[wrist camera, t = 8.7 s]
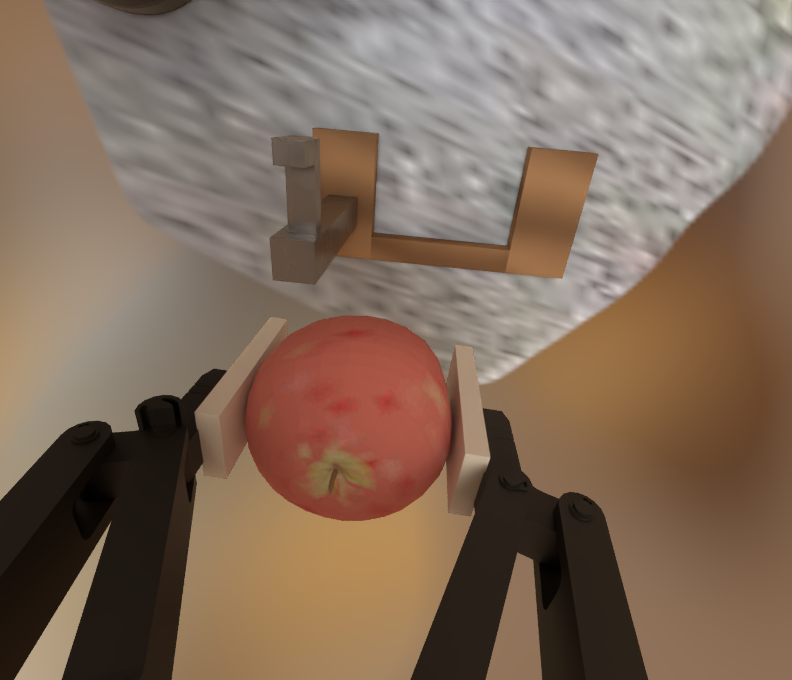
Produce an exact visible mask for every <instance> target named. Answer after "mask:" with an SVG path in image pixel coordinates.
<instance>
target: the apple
mask: <svg viewBox="0 0 792 680" xmlns="http://www.w3.org/2000/svg"><path fill="white" fill-rule="evenodd" d="M245 427H246V434H247V440H248V447H249V450H250V452H251V455H252V457H253V459H254V461H255V463H256V466H257V468H258V470H259V472H260V473H261V474H262V476H263V477H264V478H265V479H266V481H267V482H268V483H269V484H270V486H271V487H272V488H273V489H274V490H275V491H276V492H277V493H279V494H280V495H281V496H283V497H284V498H285V499H286V500H287V501H289V502H291V503H293V504H294V505H296V506H298V507H300V508H302V509H304V510H305V511H308V512H311V513H314V514H317V515H320V516H323V517H326V518H332V519H337V520H342V521H362V520H369V519H375V518H380V517H384V516H387V515H390V514H392V513H395V512H397V511H400V510H402V509H403V508H405V507H406V506H408V505H409V504H411V503H412V502H414V501H415V500H416V499H418V498H419V497H421V496H422V495H423V494H424V493H425V492H426V491H427V489H428V488H429V487H430V486H431V485H432V484H433V482H434V481H435V480H436V479H437V478H438V476H439V475H440V473H441V471H442V469H443V466H444V464H445V461H446V459H447V457H448V454H449V451H450V446H451V433H452V417H451V409H450V403H449V397H448V391H447V386H446V383H445V379H444V376H443V373H442V369H441V366H440V363H439V360H438V358H437V357H436V356H435V354H434V353H433V351H432V350H431V349H430V347H429V346H428V344H427V343H426V342H425V340H423V339H422V338H420V337H419V336H417V335H416V334H415V333H413V332H412V331H410V330H409V329H407V328H406V327H404V326H401V325H398V324H396V323H393V322H391V321H388V320H385V319H380V318H375V317H369V316H340V317H335V318H329V319H323V320H319V321H316V322H314V323H312V324H310V325H308V326H306V327H304V328H302V329H300V330H298V331H296V332H294V333H292V334H290V335H289V336H288V337H286V338H285V339H284V340H283V341H282V342H281V343H280V344H279V345H278V346H277V348H276V349H275V350H274V351H273V352H272V353H271V354H270V355H269V356H268V358H267V359H266V360H265V361H264V362H263V363H262V365H261V366H260V368H259V370H258V372H257V375H256V377H255V380H254V382H253V385H252V387H251V389H250V392H249V394H248V401H247V408H246V415H245Z"/></svg>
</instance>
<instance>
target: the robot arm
mask: <svg viewBox="0 0 792 680" xmlns="http://www.w3.org/2000/svg"><path fill="white" fill-rule="evenodd" d="M96 1H98V2H101V3H103V4H106V5H109V6H112V7H115V8H117V9H120V10H124V11H127V12H131V13H137V14H159V13H164V12H168V11H171V10H174V9H176V8H178V7H180V6H182V5H184V4H185V3H187V2H188V1H190V0H96ZM286 337H287V319H281V318H274V317H270V318H269V320H268V321H267V322H266V323H265V324H264V326H263V327H262V328H261V329H260V331H259V332H258V333H257V334H256V336H255V337H254V338H253V340H252V341H251V342H250V343H249V345H248V346H247V347H246V348H245V350H244V351H243V352H242V353H241V355H240V356H239V357H238V358H237V360H236V361H235V362H234V363H233V365H232V366H231V367H230V368H229V370H228V371H226V370H219V369H213V370H211V371H209V372H208V373H206V374H204V375H202V376H201V377H200V379H199V380H198V381H197V382H196V383H195V385H194V386H193V387H192V388H191V389H190V390H189V392H188V393H186V394H185V396H184V397H183V398H182V399H180V398H178V397H175V396H172V395H161V396H155V397H152V398H150V399H147V400H145V401H143V402H142V403H141V404H139V405H138V406H137V408H136V409H135V415H136V418H137V423H138V427H139V430H138V431H130V432H129V431H128V432H116V433H112V429H111V426H110V425H108V424H107V423H106V422H101V421H88V422H84V423H81V424H77V425H75V426H73V427H71V428H69V429H68V430H66V431H65V432H64V433H63V434H61V435H60V437H59V438H58V439H57V440H56V441H55V442H54V443H53V444H52V445H51V446H50V447H49V448H48V450H47V451H46V452H45V453H44V454H43V455H42V456H41V457H40V458H39V459H38V460H37V462H36V463H35V464H34V465H33V466H32V467H31V468H30V469H29V470H28V471H27V472H26V473H25V475H24V476H23V477H22V478H21V479H20V480H19V481H18V482H17V483H16V484H15V486H14V487H13V488H12V489H11V490H10V491H9V492H8V493H7V494H6V495H5V496H4V498H2V499H1V501H0V680H14V679H15V677H16V676H17V674H18V672H19V670H20V669H21V667H22V666H23V664H24V662H25V661H26V659H27V657H28V656H29V654H30V653H31V651H32V649H33V648H34V646H35V645H36V643H37V641H38V640H39V638H40V636H41V635H42V633H43V631H44V630H45V628H46V627H47V625H48V623H49V622H50V620H51V618H52V617H53V615H54V613H55V612H56V610H57V609H58V607H59V605H60V604H61V602H62V600H63V599H64V597H65V595H66V594H67V592H68V591H69V589H70V587H71V586H72V584H73V582H74V581H75V579H76V578H77V576H78V574H79V573H80V571H81V569H82V568H83V566H84V564H85V563H86V561H87V560H88V558H89V556H90V555H91V553H92V551H93V550H94V548H95V546H96V545H97V543H98V542H99V540H100V538H101V537H102V535H103V533H104V532H105V530H106V529H107V527H108V525H109V524H110V522H111V524H110V527H109V531H108V534H107V537H106V540H105V543H104V547H103V550H102V553H101V556H100V559H99V563H98V566H97V569H96V572H95V575H94V578H93V582H92V585H91V588H90V591H89V594H88V598H87V601H86V604H85V607H84V610H83V613H82V617H81V620H80V623H79V626H78V629H77V633H76V636H75V639H74V642H73V645H72V649H71V652H70V655H69V658H68V662H67V665H66V668H65V671H64V674H63V678H62V680H171V679H172V672H173V664H174V656H175V648H176V640H177V632H178V625H179V616H180V609H181V601H182V594H183V586H184V578H185V571H186V563H187V555H188V547H189V539H190V532H191V524H192V516H193V508H194V501H195V493H196V485H197V482H196V476H195V474H196V473H197V471H198V469H199V468H200V466H201V465H203V471H204V475H206V476H211V477H218V478H224V479H227V477H228V475H229V474H230V472H231V470H232V468H233V466H234V465H235V463H236V461H237V459H238V457H239V456H240V454H241V452H242V451H243V449H244V447H245V445H246V443H247V442H248V440H247V434H246V427H245V415H246V408H247V401H248V394H249V392H250V389H251V387H252V385H253V382H254V380H255V377H256V375H257V372H258V370H259V368H260V366H261V365H262V363H263V362H264V361H265V360H266V359H267V358H268V356H269V355H270V354H271V353H272V352H273V351H274V350H275V349H276V348H277V346H278V345H279V344H280V343H281V342H282V341H283V340H284V339H285V338H286ZM446 386H447V391H448V397H449V403H450V409H451V417H452V433H451V446H450V451H449V454H448V457H447V459H446V465H447V493H448V513H453V514H459V515H466V516H471V514H472V511H473V508H475V515H474V517H473V520H472V523H471V525H470V528H469V530H468V533H467V535H466V538H465V541H464V543H463V546H462V548H461V551H460V554H459V556H458V559H457V561H456V564H455V567H454V569H453V572H452V574H451V577H450V579H449V582H448V584H447V587H446V590H445V592H444V595H443V597H442V600H441V603H440V605H439V608H438V610H437V613H436V616H435V618H434V621H433V623H432V626H431V628H430V631H429V634H428V636H427V639H426V641H425V644H424V646H423V649H422V652H421V654H420V657H419V659H418V662H417V664H416V667H415V669H414V672H413V675H412V677H411V680H485V679H486V675H487V671H488V667H489V663H490V659H491V655H492V651H493V647H494V643H495V639H496V635H497V631H498V627H499V623H500V619H501V615H502V611H503V607H504V603H505V599H506V595H507V591H508V587H509V583H510V579H511V575H512V571H513V567H514V563H515V559H516V555H517V552H518V553H520V554H522V555H524V556H527V557H529V558H531V559H533V562H534V575H535V588H536V602H537V614H538V628H539V642H540V654H541V668H542V680H648V677H647V674H646V670H645V666H644V663H643V659H642V655H641V651H640V647H639V644H638V640H637V636H636V632H635V628H634V625H633V621H632V617H631V613H630V610H629V606H628V602H627V599H626V595H625V591H624V587H623V583H622V580H621V576H620V572H619V568H618V564H617V561H616V557H615V553H614V550H613V546H612V542H611V539H610V534H609V530H608V527H607V523H606V520H605V516H604V514H603V512H602V510H601V508H600V507H599V506H598V505H597V504H596V503H595V502H594V501H593V500H591V499H590V498H588V497H587V496H584V495H582V494H579V493H574V492H568V493H565V494H563V495H562V496H561V497H560V498H559V499H558V498H556V497H553V496H551V495H548V494H546V493H543V492H542V491H540V490H538V489H536V488H535V487H533V486H532V483H531V481H530V479H529V478H528V477H527V476H526V475H525V474H524V473H523V472H522V471H521V467H520V463H519V459H518V455H517V451H516V447H515V443H514V441H513V440H514V439H513V434H512V433H511V432H512V430H511V426H510V422H509V420H508V419H507V417H506V416H505V415H504V414H503V412H502V411H497V410H490V409H484V408H482V403H481V397H480V391H479V385H478V379H477V373H476V367H475V361H474V354H473V348H472V347H468V346H461V345H455V348H454V352H453V357H452V361H451V365H450V370H449V374H448V378H447V383H446ZM111 520H112V521H111Z"/></svg>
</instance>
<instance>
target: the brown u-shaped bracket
mask: <svg viewBox="0 0 792 680" xmlns="http://www.w3.org/2000/svg"><path fill="white" fill-rule="evenodd" d="M378 137H379V133H369V132H358V131H347V130H336V129H325V128H313V138H320V176H321V200H322V199H324V198H325V197H326V196H328V195H329V194H331V195H341V196H352V197H358V205H357V227H356V228H355V229H354V231H353V232H352V234H351V235H350V236H349V238H348V239H347V241H346V242H345V243H344V245H343V246H342V248H341V249H340V250H339V252H338V253H337V255H336V256H344V257H354V258H364V259H374V260H384V261H394V262H403V263H413V264H423V265H433V266H443V267H453V268H463V269H473V270H482V271H492V272H502V273H512V274H522V275H532V276H542V277H552V278H561V279H562V277H563V274H564V271H565V267H566V264H567V260H568V257H569V253H570V250H571V247H572V243H573V240H574V236H575V233H576V229H577V226H578V223H579V219H580V216H581V212H582V209H583V205H584V202H585V199H586V195H587V192H588V188H589V185H590V181H591V178H592V175H593V171H594V168H595V164H596V161H597V157H598V154H596V153H590V152H579V151H568V150H557V149H546V148H535V147H528V151H527V155H526V160H525V165H524V169H523V174H522V179H521V183H520V188H519V193H518V197H517V202H516V207H515V211H514V216H513V221H512V226H511V230H510V235H509V240H508V244H507V246H504V245H494V244H484V243H474V242H463V241H453V240H443V239H433V238H423V237H413V236H403V235H393V234H383V233H374V216H375V196H376V176H377V156H378Z"/></svg>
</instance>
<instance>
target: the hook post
mask: <svg viewBox="0 0 792 680" xmlns="http://www.w3.org/2000/svg"><path fill="white" fill-rule="evenodd" d="M271 139H272V154H273V165H278V166H285V172H286V191H287V211H288V225H286V226H285V227H284V228H282V229H281V230H280V231H278V232H277V233H275V234H274V235H273V236H271V237H270V246H271V260H272V274H273V280H277V281H286V282H296V283H306V284H316V283H317V281H318V280H319V278H320V277H321V276H322V274H323V273H324V271H325V270H326V269H327V267H328V266H329V264H330V263H331V262H332V260H333V259H334V257H335V256H336V255H337V253H338V252H339V250H340V249H341V248H342V246H343V245H344V243H345V242H346V241H347V239H348V238H349V236H350V235H351V234H352V232H353V231H354V229H355V228H356V227H357V205H358V197H352V196H341V195H331V194H329V195H328V196H326V197H325V198H324V199H322V200H321V176H320V138H313V137H302V136H283V137H274V138H271Z"/></svg>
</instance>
